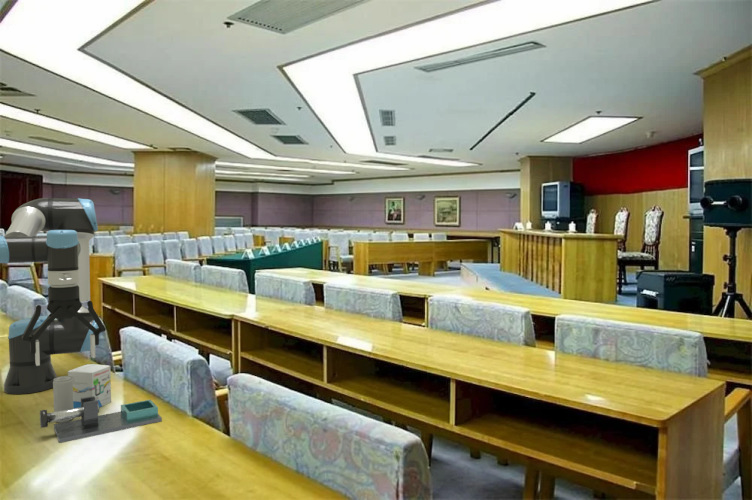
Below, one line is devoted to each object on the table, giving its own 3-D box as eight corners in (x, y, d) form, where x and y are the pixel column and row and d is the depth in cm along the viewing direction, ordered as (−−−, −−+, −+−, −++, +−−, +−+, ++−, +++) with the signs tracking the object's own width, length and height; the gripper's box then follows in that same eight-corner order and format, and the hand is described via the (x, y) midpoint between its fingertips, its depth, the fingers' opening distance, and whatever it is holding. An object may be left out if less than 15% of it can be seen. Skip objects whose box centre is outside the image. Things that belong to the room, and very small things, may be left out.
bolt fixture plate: (53, 427, 147) (52, 399, 146) (150, 408, 161) (150, 382, 161) (59, 442, 137) (58, 412, 137) (161, 421, 152) (161, 393, 151)
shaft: (40, 424, 141) (39, 408, 141) (96, 414, 149) (96, 398, 149) (41, 430, 138) (41, 413, 138) (99, 418, 146) (99, 402, 146)
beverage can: (77, 418, 154) (76, 376, 153) (63, 424, 149) (61, 381, 149) (65, 416, 155) (63, 375, 155) (50, 422, 151) (48, 379, 150)
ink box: (92, 411, 159) (91, 372, 159) (67, 409, 161) (66, 370, 160) (112, 401, 168) (111, 364, 167) (88, 399, 169) (87, 363, 169)
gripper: (10, 290, 140) (13, 371, 141) (115, 283, 155) (117, 356, 156) (8, 287, 146) (11, 364, 147) (109, 280, 161) (111, 351, 162)
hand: (66, 360), depth 151 cm, fingers open, 13 cm apart
